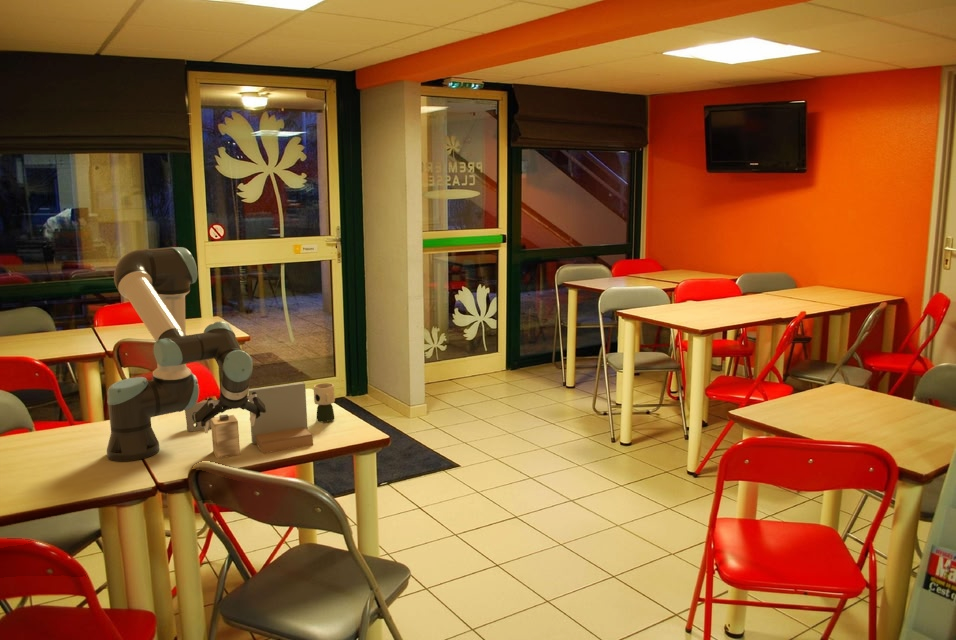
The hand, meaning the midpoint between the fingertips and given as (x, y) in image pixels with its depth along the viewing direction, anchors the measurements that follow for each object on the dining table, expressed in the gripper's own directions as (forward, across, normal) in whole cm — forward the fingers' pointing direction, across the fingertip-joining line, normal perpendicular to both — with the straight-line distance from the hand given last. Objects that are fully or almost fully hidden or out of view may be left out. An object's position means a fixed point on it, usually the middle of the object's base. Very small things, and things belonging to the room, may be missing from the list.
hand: (229, 425), depth 238 cm
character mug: (+24, +36, +9) cm, 44 cm away
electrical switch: (+33, -4, +18) cm, 38 cm away
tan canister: (+12, 0, -3) cm, 12 cm away
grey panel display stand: (+11, +18, -4) cm, 21 cm away
